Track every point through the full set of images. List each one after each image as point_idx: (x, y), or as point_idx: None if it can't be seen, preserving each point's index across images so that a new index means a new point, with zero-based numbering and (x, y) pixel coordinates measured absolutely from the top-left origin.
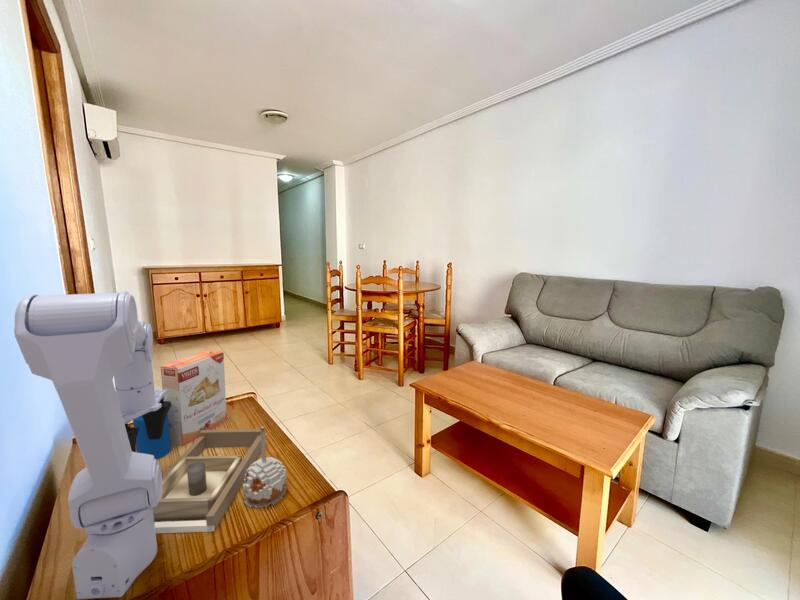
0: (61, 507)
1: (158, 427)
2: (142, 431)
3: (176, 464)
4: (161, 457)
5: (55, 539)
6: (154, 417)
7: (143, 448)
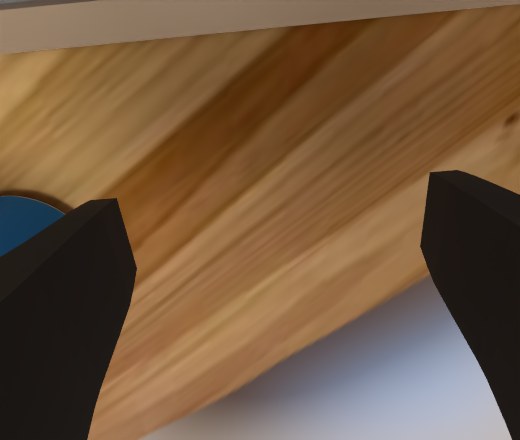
0: (340, 326)
1: (71, 269)
2: None
3: (146, 14)
4: (45, 204)
5: None
6: (26, 400)
7: None
